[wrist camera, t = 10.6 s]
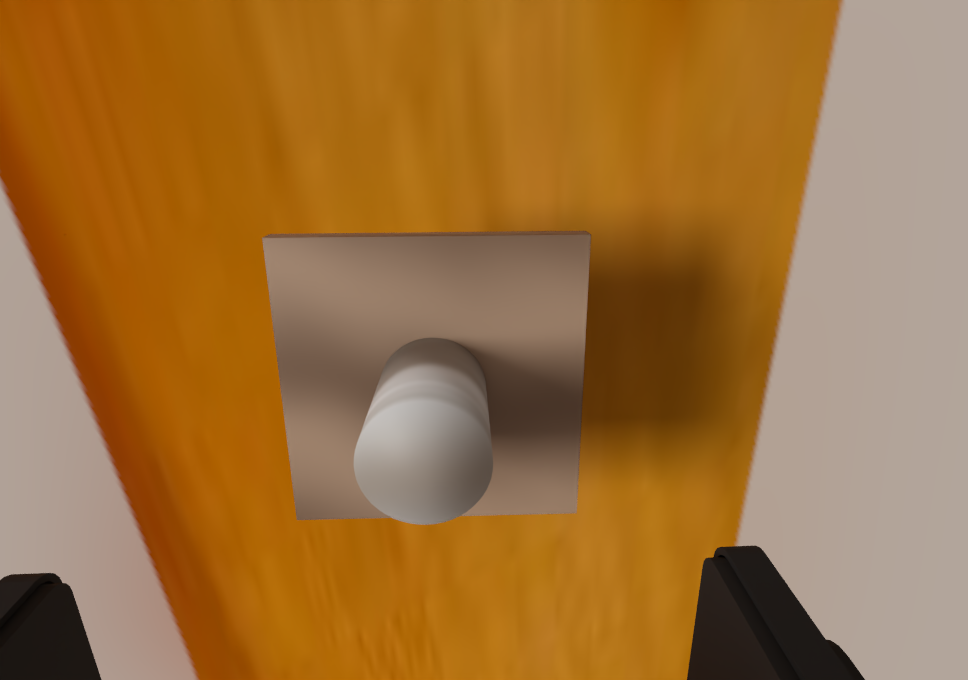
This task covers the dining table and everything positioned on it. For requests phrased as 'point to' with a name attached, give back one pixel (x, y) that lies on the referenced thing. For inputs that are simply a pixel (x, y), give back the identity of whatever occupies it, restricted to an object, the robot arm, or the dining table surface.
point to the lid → (431, 371)
